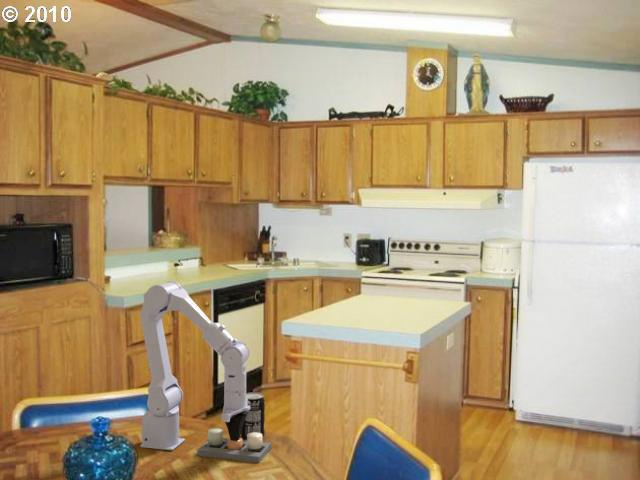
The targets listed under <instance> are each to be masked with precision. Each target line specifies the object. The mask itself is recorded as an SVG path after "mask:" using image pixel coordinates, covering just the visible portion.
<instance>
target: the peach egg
mask: <svg viewBox="0 0 640 480" xmlns="http://www.w3.org/2000/svg"><path fill="white" fill-rule="evenodd" d="M243 440H244V439H243V437H240V439H239V440H238V441H232V440H230V437H229V439H227V449H231V450H241V449H242V446H243Z"/></svg>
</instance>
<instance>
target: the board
mask: <svg viewBox="0 0 640 480" xmlns="http://www.w3.org/2000/svg"><path fill="white" fill-rule="evenodd" d="M229 438H230V437H229ZM229 438H226V437H223V443H222V444H219V445H211V444H208V440H206V442H205V443H203V444H202V445H201V446H200V447H199V448H198V449H197V452H196V453H197V455H196V456H197V457H206V458H215V459H224V460H233V461H240V462H241V461H242V462H251V463H258V464H259V463H261V461H262V460H263V459H264V457H266V456H267V454H268V453H269V452H270V450H271V449H272V442H266V441H265V442H264V441H262V447H261V448H259V449H249V448H248V447H247V440H245V439H243V446H242V449H241V450H231V449H227V439H229ZM257 451H258V452H257Z"/></svg>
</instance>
